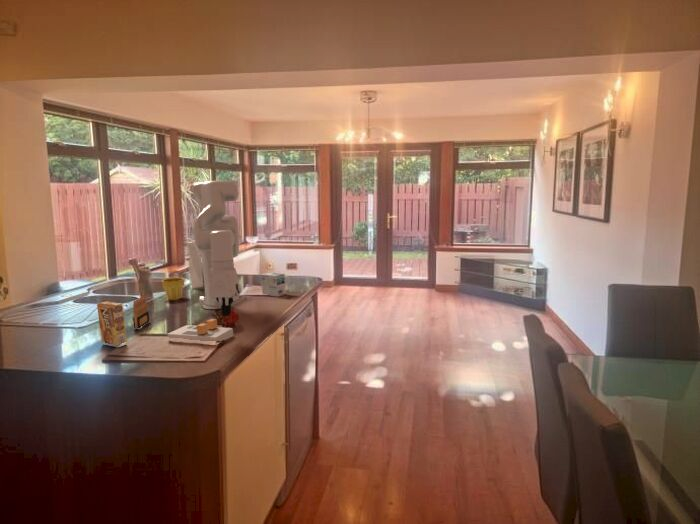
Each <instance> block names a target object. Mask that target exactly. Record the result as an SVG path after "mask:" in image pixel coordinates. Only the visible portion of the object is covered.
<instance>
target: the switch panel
mask: <svg viewBox="0 0 700 524" xmlns="http://www.w3.org/2000/svg"><path fill="white" fill-rule="evenodd" d="M168 337H169V338H183V339H189V340H200V341H222V340H225V341H227V340H229V339H231V338H232V337H234V327H228V328H223V327H222V326H217V327H216V328H214V329H208V332H207V333H205V334H197V325H190V324H186V325H184V326H181V327H179V328H177V329H175V330H173V331H170V332H169V333H167V338H168ZM230 337H231V338H230ZM228 338H229V339H228ZM226 339H227V340H226Z"/></svg>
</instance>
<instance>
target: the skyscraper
mask: <svg viewBox="0 0 700 524" xmlns="http://www.w3.org/2000/svg"><path fill="white" fill-rule="evenodd" d="M187 240H190V241H187ZM185 242H186V247H187V251H188V257H189V258H188V268H189V269H188V270H189V277H190V281H191V287H192V288H191V289H192V290H202V289H204V290H205V286H204V274H203V264H202V259H201V254H200V250H199V249H198V248H197V247H196V244H195V239H192V238H189V237H186V238H185Z"/></svg>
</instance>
